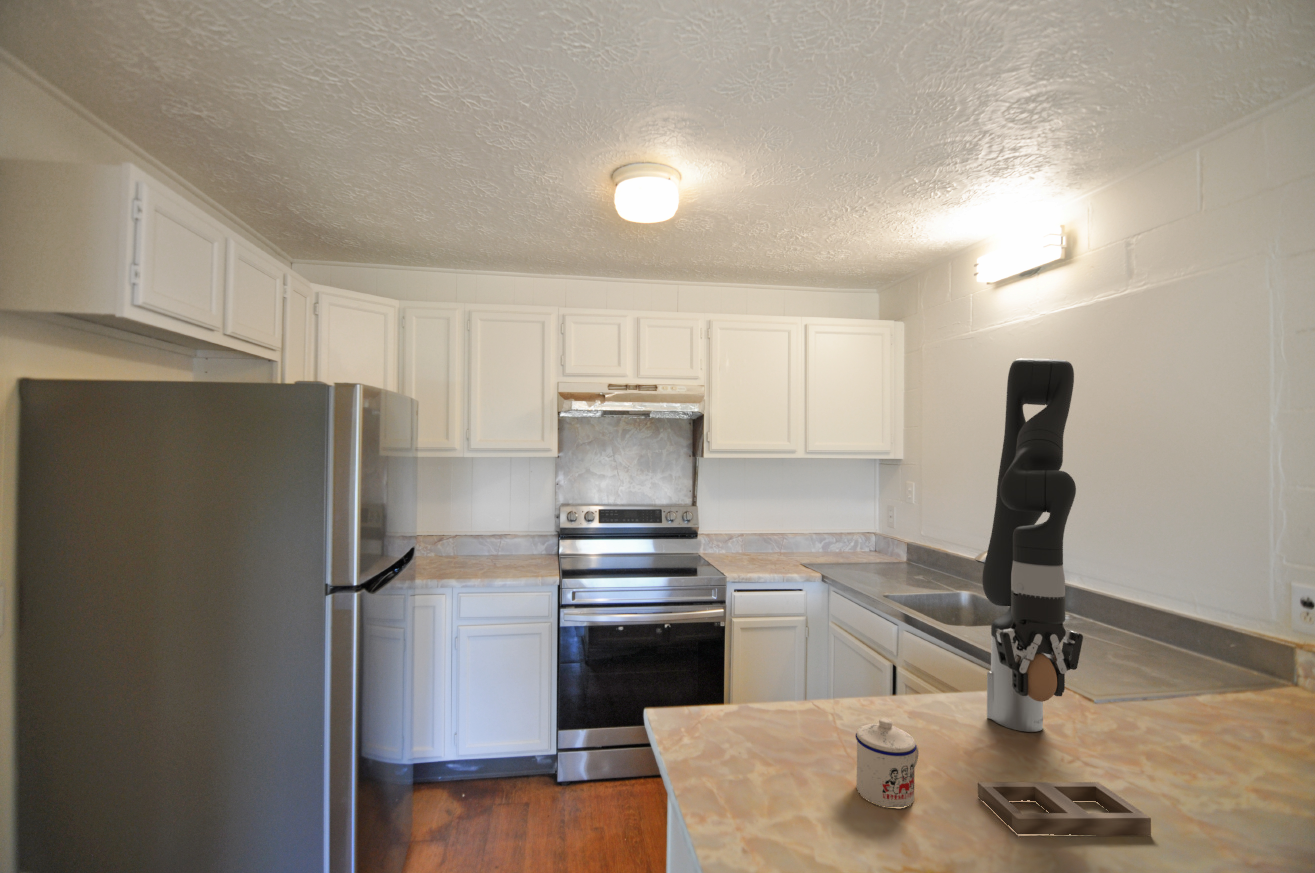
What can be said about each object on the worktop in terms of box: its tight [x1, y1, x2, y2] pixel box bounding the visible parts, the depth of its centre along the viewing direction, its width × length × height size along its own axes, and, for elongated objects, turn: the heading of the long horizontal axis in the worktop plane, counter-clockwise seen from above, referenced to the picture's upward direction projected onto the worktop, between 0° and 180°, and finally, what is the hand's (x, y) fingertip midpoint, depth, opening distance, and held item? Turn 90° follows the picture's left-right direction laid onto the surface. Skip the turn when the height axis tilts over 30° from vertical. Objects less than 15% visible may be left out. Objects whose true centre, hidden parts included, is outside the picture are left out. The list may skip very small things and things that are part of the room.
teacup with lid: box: [855, 717, 919, 807], centre depth 95 cm, size 12×9×12 cm
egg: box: [1025, 653, 1057, 703], centre depth 97 cm, size 5×5×8 cm
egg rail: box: [977, 781, 1152, 837], centre depth 89 cm, size 20×10×2 cm, turn 93°
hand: (1038, 693), depth 97 cm, fingers closed on egg, 5 cm apart
